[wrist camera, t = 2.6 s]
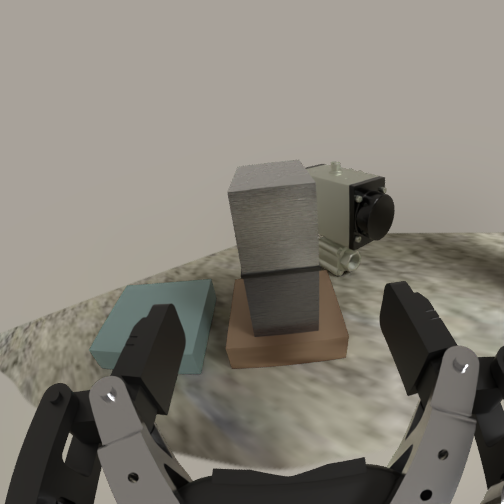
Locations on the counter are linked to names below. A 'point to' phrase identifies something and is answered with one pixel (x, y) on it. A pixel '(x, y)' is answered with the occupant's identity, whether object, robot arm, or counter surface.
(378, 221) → the pneumatic valve
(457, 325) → the counter surface
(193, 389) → the counter surface
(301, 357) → the stand
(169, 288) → the stand
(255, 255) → the block
